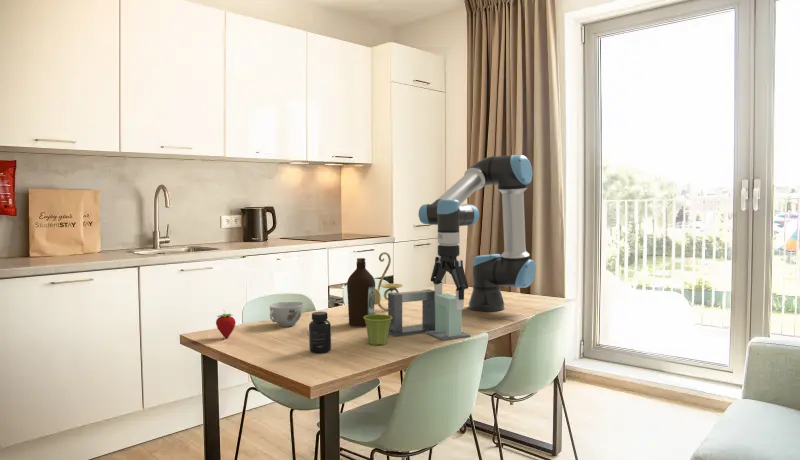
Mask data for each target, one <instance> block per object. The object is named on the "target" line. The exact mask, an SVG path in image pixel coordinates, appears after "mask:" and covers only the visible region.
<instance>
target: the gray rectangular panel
mask: <svg viewBox="0 0 800 460" xmlns="http://www.w3.org/2000/svg"><path fill="white" fill-rule="evenodd" d="M425 333H426V334H427V335H429V336H431V337H434V338H437V339H439V340H441V341H448V340H457V339H463V338H470V337H471V334H469V333H466V332H464V331H461V335H460V336H453V337H448V336H446V332H439V333H438V332H435V331H429V332H425Z"/></svg>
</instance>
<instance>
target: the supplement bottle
mask: <svg viewBox="0 0 800 460" xmlns="http://www.w3.org/2000/svg"><path fill="white" fill-rule="evenodd" d="M328 318H329V317H328V312H327V311H314V312H311V320H312V321H310V322H309V324H308V347H309V352H310V353H312V354H318V355H319V354H325V353H329V352H330V351H332V350H331V349H332V327H331V326H332V325H331V321H329V320H328Z"/></svg>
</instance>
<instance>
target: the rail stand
mask: <svg viewBox="0 0 800 460" xmlns="http://www.w3.org/2000/svg"><path fill="white" fill-rule="evenodd" d="M387 298H388V300H387V305H388V306H387V309H388V311H387V313H388V314H387V315H389V316H392V319H391V323H390V326H389V333H388V335H391V336H392V337H401V336H409V335H416V334H423V333H424V334H425V333H426V332H429V331H435V289H422V290H415V291H404V292H403V291H402V292H399V293H397V292H396V291H395V292H392V293H391V292H387ZM419 301H421V302H422V303H421V304H422V310H421V311H422V319H421V320H422V321H421V324H414V325H413V324H412V325H403V303H411V302H419Z"/></svg>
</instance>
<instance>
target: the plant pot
mask: <svg viewBox="0 0 800 460" xmlns="http://www.w3.org/2000/svg"><path fill="white" fill-rule="evenodd" d="M364 319H365V323H366V327H365V328H366V331H367V332H366V333H367V339H368V343H369V344H370V345H372V346H378V345H386V344H387V343H388V339H389V334H388V333H389V326H390V323H391V319H392V316H389V315H388V314H381V313H380V314H377V313H376V314H375V313H374V314H373V315H366V316H364Z"/></svg>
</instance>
